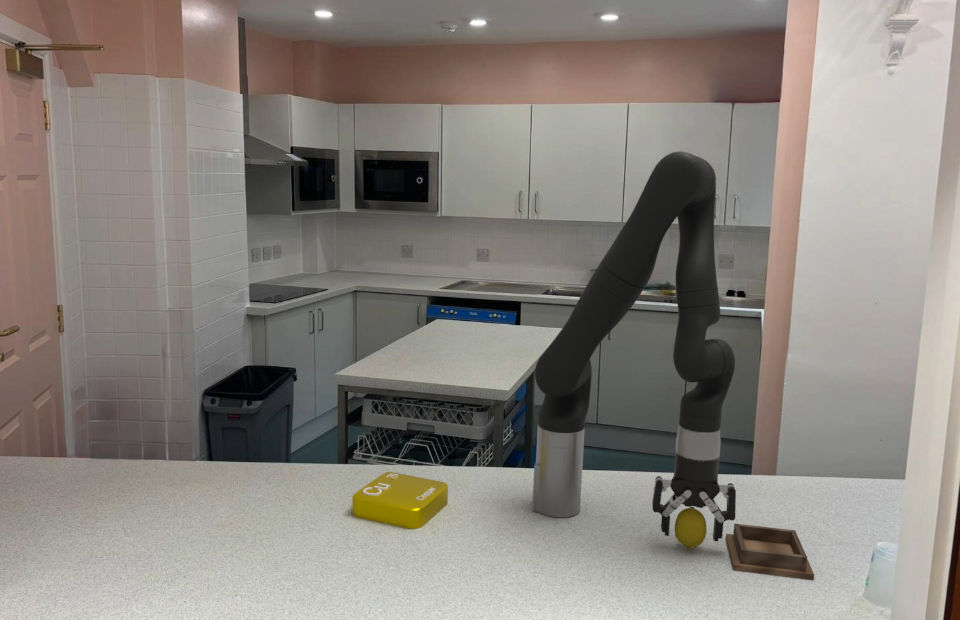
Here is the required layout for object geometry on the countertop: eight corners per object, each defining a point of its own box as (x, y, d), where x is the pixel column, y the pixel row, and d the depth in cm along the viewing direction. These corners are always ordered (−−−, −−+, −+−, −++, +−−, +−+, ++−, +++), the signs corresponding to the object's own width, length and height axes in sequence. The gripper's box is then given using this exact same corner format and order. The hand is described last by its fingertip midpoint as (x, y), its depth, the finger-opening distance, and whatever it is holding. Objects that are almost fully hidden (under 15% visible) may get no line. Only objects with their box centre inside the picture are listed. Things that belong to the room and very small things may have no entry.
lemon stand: (733, 570, 132) (734, 551, 131) (725, 538, 144) (727, 521, 143) (813, 580, 130) (815, 560, 129) (799, 547, 141) (801, 529, 141)
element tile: (417, 533, 143) (418, 508, 142) (348, 517, 149) (348, 494, 148) (451, 502, 157) (451, 480, 156) (386, 489, 162) (386, 468, 162)
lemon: (705, 558, 136) (709, 515, 135) (673, 554, 137) (677, 511, 136) (703, 543, 141) (706, 502, 140) (672, 540, 142) (675, 499, 141)
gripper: (656, 454, 134) (651, 541, 137) (742, 462, 131) (734, 551, 134) (655, 440, 141) (650, 523, 144) (736, 447, 138) (729, 532, 141)
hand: (691, 536), depth 139 cm, fingers open, 8 cm apart
